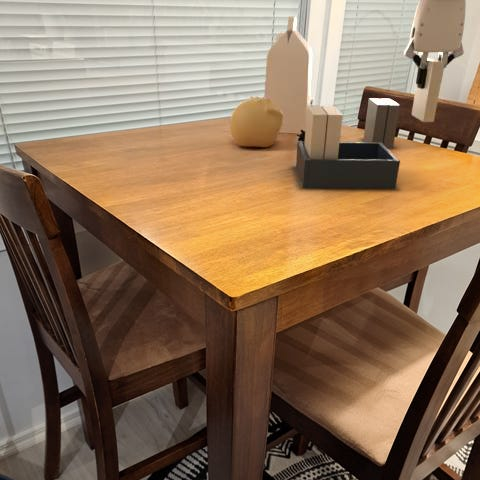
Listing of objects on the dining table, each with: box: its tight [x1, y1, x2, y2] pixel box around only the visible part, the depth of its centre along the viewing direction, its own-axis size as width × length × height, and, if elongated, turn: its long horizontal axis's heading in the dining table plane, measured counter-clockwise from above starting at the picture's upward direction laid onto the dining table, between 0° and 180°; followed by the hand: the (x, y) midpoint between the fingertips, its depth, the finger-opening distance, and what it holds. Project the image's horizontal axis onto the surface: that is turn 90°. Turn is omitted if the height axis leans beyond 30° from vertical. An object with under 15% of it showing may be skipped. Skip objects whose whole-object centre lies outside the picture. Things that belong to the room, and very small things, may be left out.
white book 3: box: [411, 57, 445, 123], centre depth 112 cm, size 2×9×12 cm, turn 0°
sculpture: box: [229, 96, 283, 148], centre depth 116 cm, size 12×12×11 cm
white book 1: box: [304, 105, 327, 159], centre depth 91 cm, size 2×9×12 cm, turn 0°
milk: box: [263, 16, 313, 135], centre depth 128 cm, size 12×12×26 cm
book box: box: [295, 141, 401, 190], centre depth 93 cm, size 17×14×6 cm
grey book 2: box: [379, 97, 401, 149], centre depth 116 cm, size 2×9×10 cm, turn 0°
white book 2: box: [320, 105, 343, 159], centre depth 91 cm, size 2×9×12 cm, turn 0°
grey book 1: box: [362, 97, 388, 143], centre depth 116 cm, size 2×9×10 cm, turn 0°
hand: (427, 87), depth 111 cm, fingers closed on white book 3, 2 cm apart
